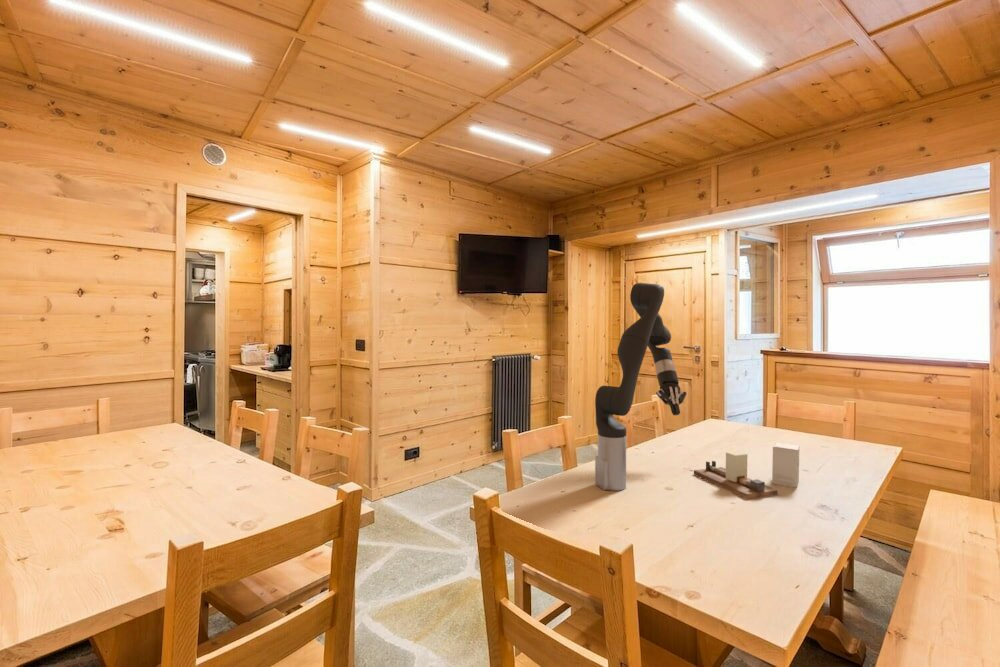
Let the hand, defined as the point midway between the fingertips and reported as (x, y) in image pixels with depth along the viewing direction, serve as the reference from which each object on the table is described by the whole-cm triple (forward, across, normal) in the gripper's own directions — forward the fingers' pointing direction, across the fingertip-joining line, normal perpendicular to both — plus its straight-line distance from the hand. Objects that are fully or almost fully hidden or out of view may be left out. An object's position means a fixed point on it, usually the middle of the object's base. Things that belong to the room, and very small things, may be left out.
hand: (676, 414), depth 177 cm
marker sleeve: (+27, +6, -13) cm, 31 cm away
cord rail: (+28, +7, -11) cm, 31 cm away
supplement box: (+28, +24, -16) cm, 41 cm away
